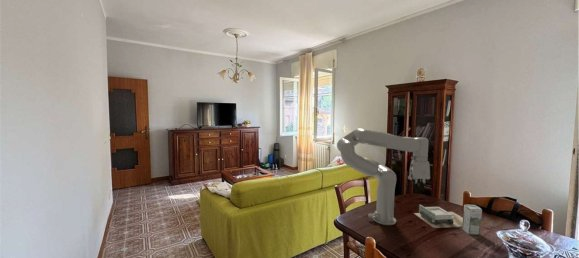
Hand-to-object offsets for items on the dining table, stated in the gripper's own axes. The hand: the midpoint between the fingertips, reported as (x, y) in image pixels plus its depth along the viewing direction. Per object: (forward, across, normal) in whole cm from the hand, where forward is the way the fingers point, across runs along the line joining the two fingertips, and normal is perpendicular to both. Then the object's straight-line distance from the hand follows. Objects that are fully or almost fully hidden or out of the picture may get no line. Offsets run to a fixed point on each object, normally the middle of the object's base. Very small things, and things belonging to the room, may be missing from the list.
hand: (418, 189), depth 140 cm
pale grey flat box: (+19, +12, 0) cm, 23 cm away
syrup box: (+19, +21, -15) cm, 32 cm away
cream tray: (+19, +17, 0) cm, 26 cm away
